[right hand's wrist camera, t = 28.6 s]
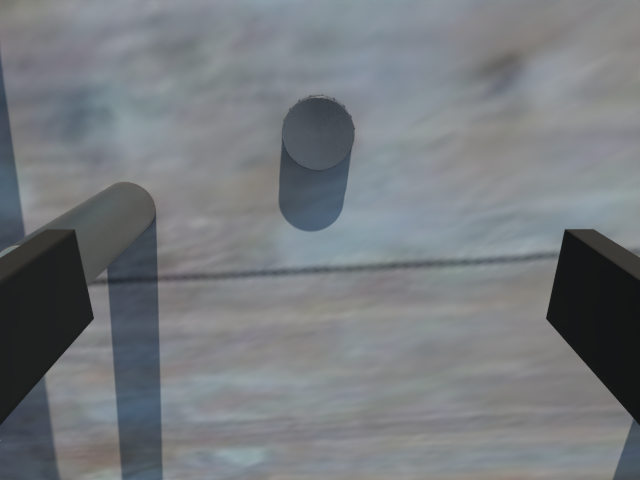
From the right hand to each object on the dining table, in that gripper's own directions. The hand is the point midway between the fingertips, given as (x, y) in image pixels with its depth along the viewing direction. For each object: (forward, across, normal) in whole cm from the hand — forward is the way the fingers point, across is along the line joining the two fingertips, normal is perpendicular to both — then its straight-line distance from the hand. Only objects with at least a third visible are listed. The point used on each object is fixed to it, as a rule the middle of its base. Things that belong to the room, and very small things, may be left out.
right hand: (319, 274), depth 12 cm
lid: (+25, 0, 0) cm, 25 cm away
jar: (+27, +17, +6) cm, 32 cm away
